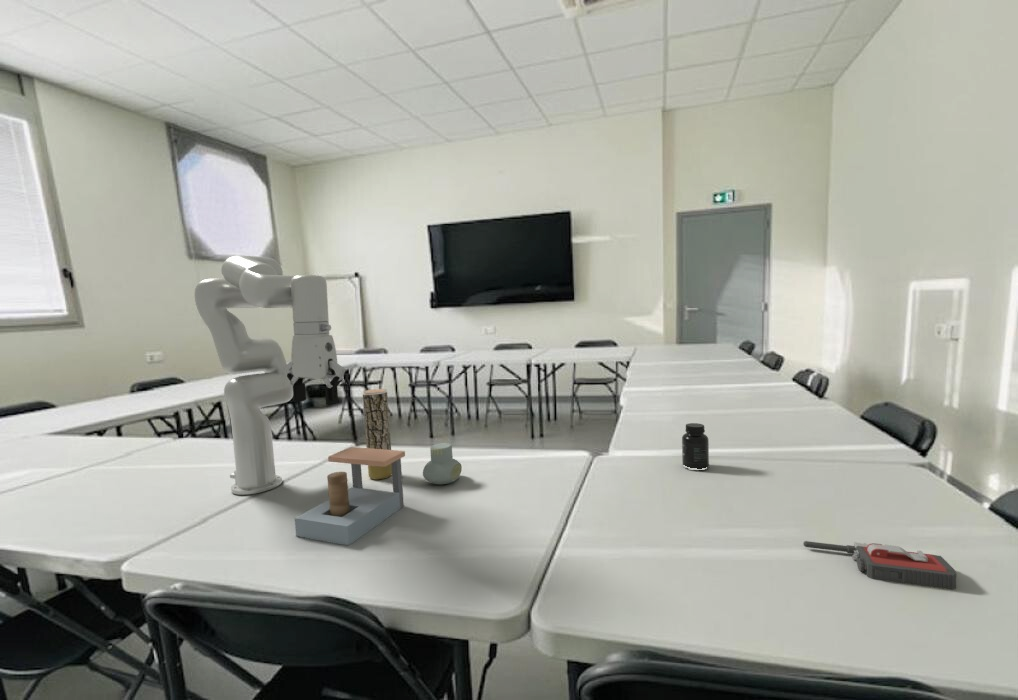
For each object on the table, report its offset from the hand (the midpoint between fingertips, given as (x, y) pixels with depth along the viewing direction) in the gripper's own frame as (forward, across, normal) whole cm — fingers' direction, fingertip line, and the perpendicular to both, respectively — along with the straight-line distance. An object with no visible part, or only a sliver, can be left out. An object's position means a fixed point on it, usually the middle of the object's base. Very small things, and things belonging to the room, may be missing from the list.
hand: (315, 402), depth 108 cm
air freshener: (+26, -19, -26) cm, 41 cm away
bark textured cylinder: (+27, +1, -24) cm, 36 cm away
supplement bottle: (+24, -83, -53) cm, 102 cm away
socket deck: (+26, -11, +2) cm, 28 cm away
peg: (+26, -11, +6) cm, 29 cm away
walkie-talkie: (+22, -112, -9) cm, 114 cm away
